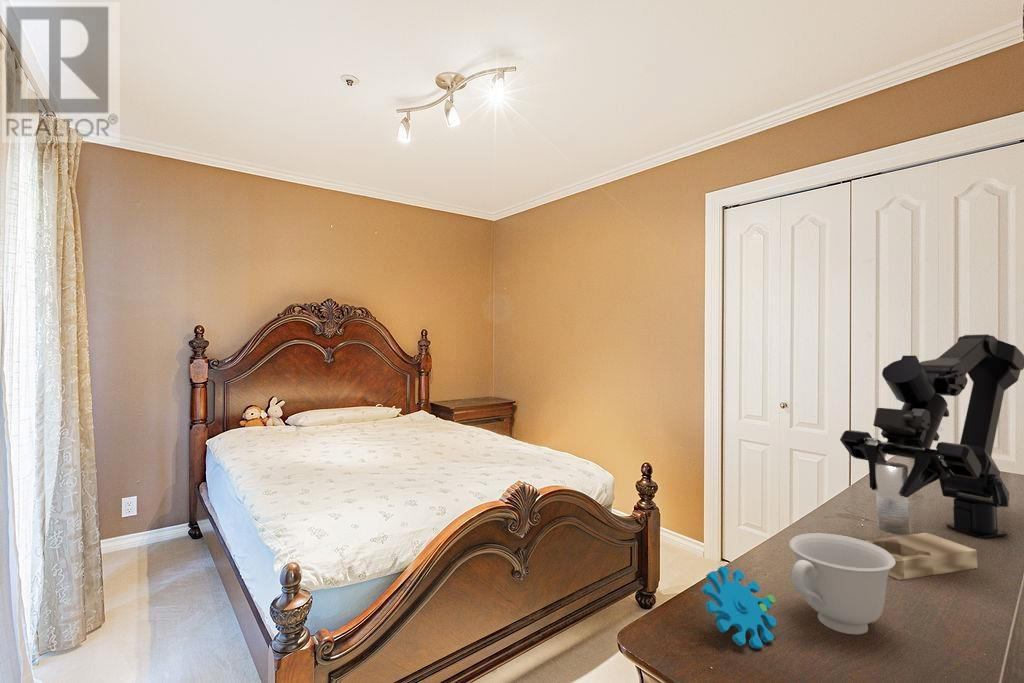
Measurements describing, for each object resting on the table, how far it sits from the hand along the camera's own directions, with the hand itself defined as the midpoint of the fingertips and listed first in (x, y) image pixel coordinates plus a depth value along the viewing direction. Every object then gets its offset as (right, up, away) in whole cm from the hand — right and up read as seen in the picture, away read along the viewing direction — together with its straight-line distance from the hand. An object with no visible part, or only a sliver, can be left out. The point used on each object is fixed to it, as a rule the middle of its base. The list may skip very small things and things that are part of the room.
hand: (887, 492), depth 82 cm
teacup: (-20, -13, -16) cm, 29 cm away
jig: (+5, -13, +1) cm, 14 cm away
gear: (-33, -14, -17) cm, 39 cm away
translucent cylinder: (+2, -7, +1) cm, 7 cm away
